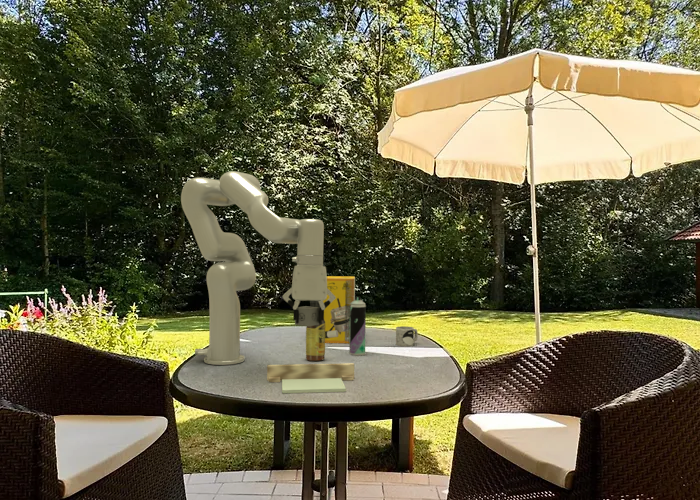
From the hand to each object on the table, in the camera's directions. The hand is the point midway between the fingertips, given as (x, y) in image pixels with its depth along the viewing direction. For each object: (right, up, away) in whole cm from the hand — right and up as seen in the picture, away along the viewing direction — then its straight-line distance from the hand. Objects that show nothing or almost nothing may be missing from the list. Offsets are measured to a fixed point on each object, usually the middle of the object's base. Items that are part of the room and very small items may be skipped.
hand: (308, 322), depth 156 cm
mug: (+34, -15, +48) cm, 61 cm away
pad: (+2, -15, -17) cm, 22 cm away
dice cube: (0, -1, 0) cm, 1 cm away
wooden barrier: (+1, -15, -8) cm, 17 cm away
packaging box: (+6, -15, +57) cm, 59 cm away
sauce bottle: (+1, -15, +18) cm, 23 cm away
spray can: (+15, -15, +28) cm, 35 cm away
